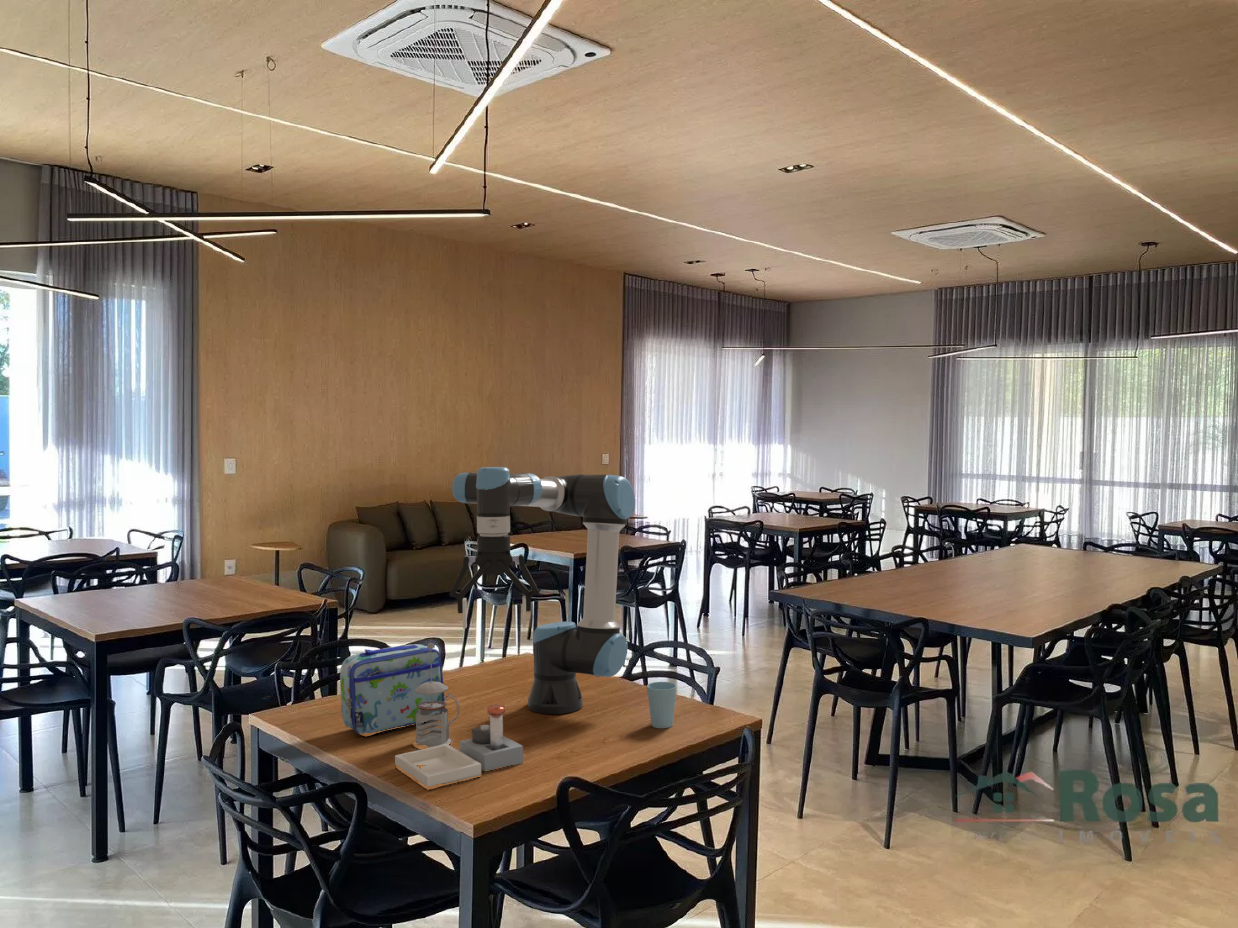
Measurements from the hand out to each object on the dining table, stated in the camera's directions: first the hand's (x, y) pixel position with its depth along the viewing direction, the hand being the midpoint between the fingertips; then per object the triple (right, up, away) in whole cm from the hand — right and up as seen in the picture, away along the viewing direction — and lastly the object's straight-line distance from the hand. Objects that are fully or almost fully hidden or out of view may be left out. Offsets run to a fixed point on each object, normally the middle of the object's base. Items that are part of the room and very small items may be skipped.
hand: (494, 626), depth 221 cm
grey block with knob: (-1, -32, +3) cm, 32 cm away
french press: (-17, -32, +16) cm, 39 cm away
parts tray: (-12, -32, -4) cm, 35 cm away
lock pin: (0, -32, +1) cm, 32 cm away
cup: (+40, -31, +29) cm, 58 cm away
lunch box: (-30, -31, +29) cm, 52 cm away
